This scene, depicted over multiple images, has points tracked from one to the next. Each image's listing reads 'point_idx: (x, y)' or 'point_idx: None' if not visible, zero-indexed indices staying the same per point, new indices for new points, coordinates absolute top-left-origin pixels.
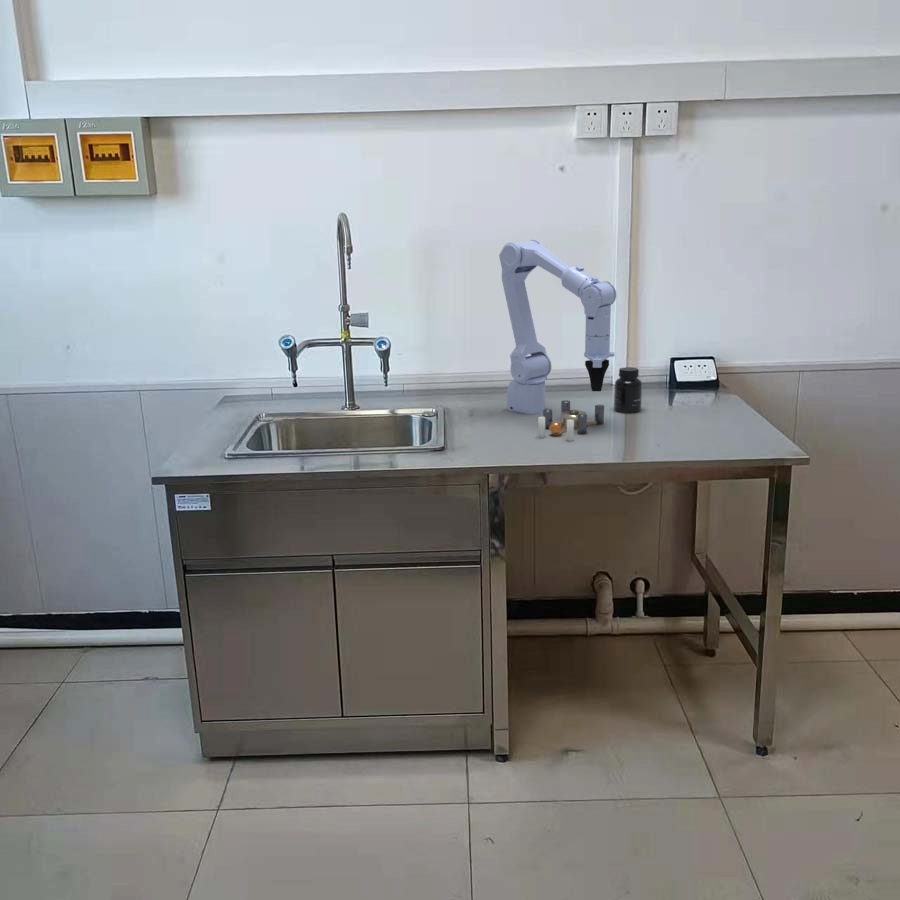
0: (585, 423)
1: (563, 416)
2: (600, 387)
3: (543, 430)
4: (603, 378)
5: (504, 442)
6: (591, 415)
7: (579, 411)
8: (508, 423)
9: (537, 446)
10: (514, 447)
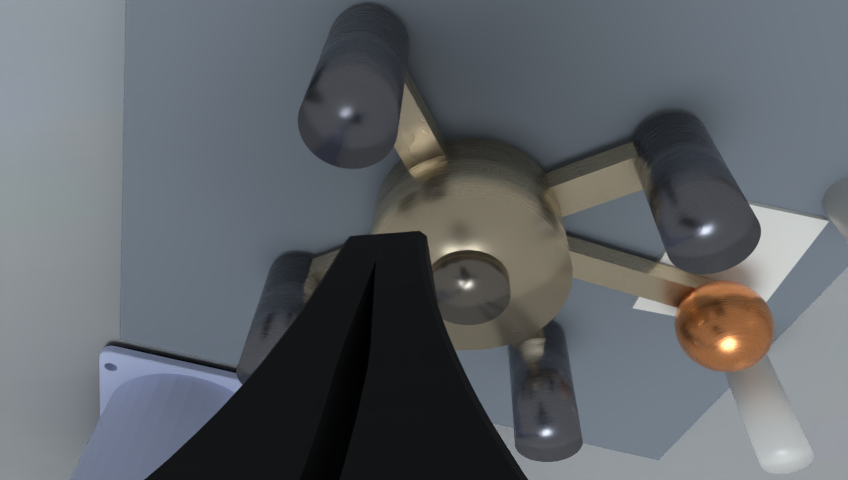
0: (728, 169)
1: (532, 328)
2: (427, 272)
3: (777, 377)
4: (455, 358)
5: (712, 449)
6: (28, 122)
7: None
8: None
9: (813, 331)
10: (808, 411)
